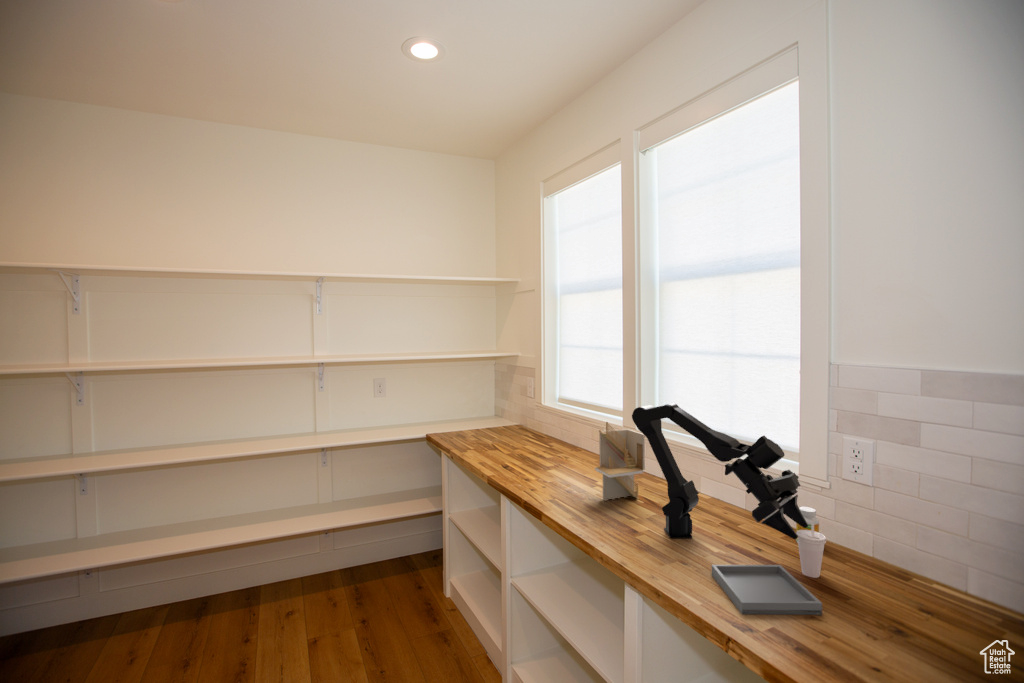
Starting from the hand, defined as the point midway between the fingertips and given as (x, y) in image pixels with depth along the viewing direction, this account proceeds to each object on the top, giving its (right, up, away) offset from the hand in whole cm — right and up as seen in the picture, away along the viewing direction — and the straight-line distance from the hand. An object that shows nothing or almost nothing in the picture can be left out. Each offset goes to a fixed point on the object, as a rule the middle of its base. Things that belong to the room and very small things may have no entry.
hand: (801, 532), depth 120 cm
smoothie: (+1, -10, -1) cm, 10 cm away
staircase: (-32, -10, +49) cm, 60 cm away
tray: (-15, -10, -10) cm, 20 cm away
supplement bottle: (+11, -9, +16) cm, 21 cm away
